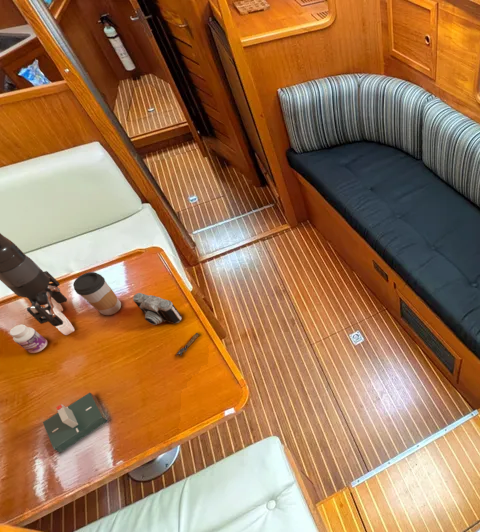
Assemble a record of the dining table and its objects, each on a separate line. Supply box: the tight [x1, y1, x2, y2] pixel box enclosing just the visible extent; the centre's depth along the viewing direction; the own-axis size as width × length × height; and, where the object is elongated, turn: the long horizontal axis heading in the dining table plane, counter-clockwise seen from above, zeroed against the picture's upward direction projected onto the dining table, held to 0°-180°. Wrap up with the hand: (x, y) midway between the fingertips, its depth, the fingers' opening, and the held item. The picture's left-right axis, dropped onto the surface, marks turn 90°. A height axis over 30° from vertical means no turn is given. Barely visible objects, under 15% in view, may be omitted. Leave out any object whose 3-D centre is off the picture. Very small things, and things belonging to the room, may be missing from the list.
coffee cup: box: [72, 271, 122, 316], centre depth 131 cm, size 8×8×15 cm
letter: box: [43, 297, 75, 336], centre depth 130 cm, size 22×2×10 cm, turn 46°
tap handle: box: [55, 403, 78, 428], centre depth 106 cm, size 6×1×5 cm, turn 45°
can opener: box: [176, 332, 200, 357], centre depth 126 cm, size 9×2×1 cm, turn 151°
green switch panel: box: [42, 392, 109, 453], centre depth 109 cm, size 12×10×3 cm
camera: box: [132, 292, 183, 326], centre depth 130 cm, size 15×7×10 cm, turn 72°
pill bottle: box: [9, 323, 48, 354], centre depth 123 cm, size 5×5×10 cm
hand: (61, 312), depth 110 cm, fingers open, 8 cm apart
